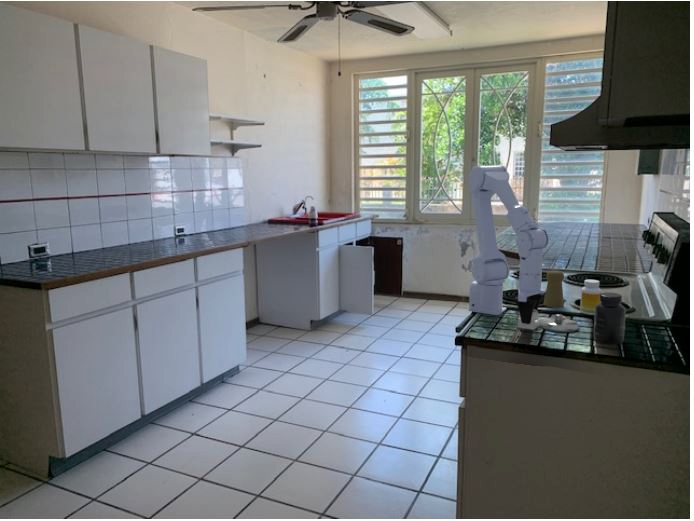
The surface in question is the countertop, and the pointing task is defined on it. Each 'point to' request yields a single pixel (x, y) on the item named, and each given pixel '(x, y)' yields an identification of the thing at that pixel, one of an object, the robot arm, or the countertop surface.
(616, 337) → the supplement bottle
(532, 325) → the white faceted lump
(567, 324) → the knobbed pot lid
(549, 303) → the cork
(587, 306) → the supplement bottle
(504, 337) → the countertop surface
